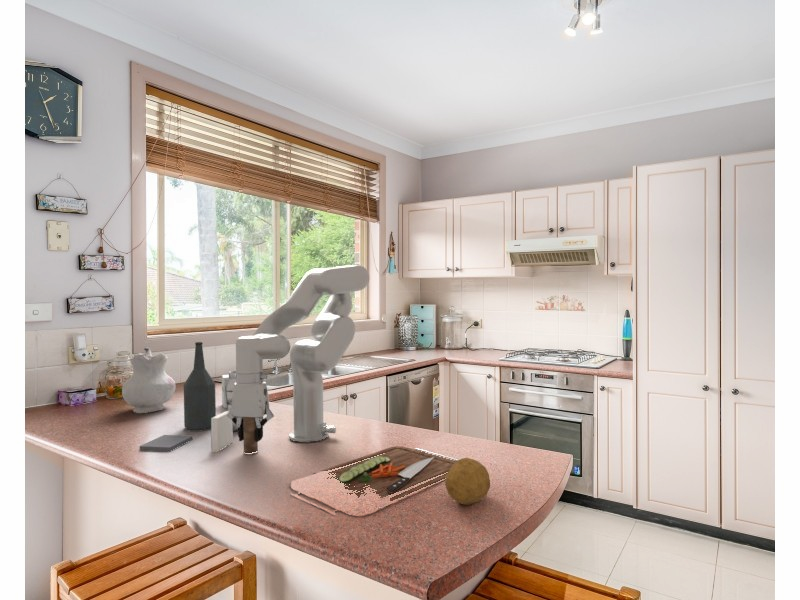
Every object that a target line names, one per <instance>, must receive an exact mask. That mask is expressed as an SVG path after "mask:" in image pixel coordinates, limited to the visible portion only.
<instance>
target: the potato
mask: <svg viewBox="0 0 800 600" xmlns="http://www.w3.org/2000/svg"><path fill="white" fill-rule="evenodd" d="M444 483H445V489H446V492H447V493H448V495H449V497H450V498H451V499H452V500H453V501H455V502H456V503H458V504H461V505H465V506H467V505H466V504H469V505H472V504H475V503H477V502H479V501H480V500H482V499H484V498H485V497H486V496H487V494H488V493H489V491H490V488H491V479H490V474H489V472H488V470H487V467H486V466H484V465H483V463H481V462H480V461H478V460H476V459H474V458H469V457H464V458H463V457H462V458H460V459H459V460H458V461H456V462H455V463H454V464H453V465H452V467H451V468H450V470H449V472H448V473H447V475H446V479H445V481H444ZM471 503H472V504H471Z"/></svg>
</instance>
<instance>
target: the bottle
mask: <svg viewBox="0 0 800 600" xmlns="http://www.w3.org/2000/svg"><path fill="white" fill-rule="evenodd" d="M194 344H195V345H194V346H195V351H194V359H193V369H192V371H191V372H190V374H189V375H188V378H186V380H185V382H184V383H183V413H184V414H183V415H184V416H183V418H184V421H183V423H184V424H183V425H184V428H185V429H186V430H187V431H188V430H190V431H189V432H200V431H201V430H202V431H208V430H211V418H213V417H215V416H217V412H216V411H217V410H216V409H217V407H216V405H217V404H216V402H217V401H216V382H215V380H214V379H213V377H212V376H211V375H210V373H209V372H208V371H207V369H206V365H205V364H206V363H205V358H204V349H203V342H202V341H197V342H196V341H195V343H194ZM207 429H208V430H207Z"/></svg>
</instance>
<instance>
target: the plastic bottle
mask: <svg viewBox="0 0 800 600" xmlns="http://www.w3.org/2000/svg"><path fill="white" fill-rule="evenodd" d="M228 375H229V381H228V382H227V384H226V385H225V394H226V403H227V408H226V411H230V409H231V408H232V394H233V388H234V384H235V383H236V370H235V371H234V370H232V371H229V372H228ZM232 428H233V432H235V431H237V432H238V428H237V427H236V424H235V423H234V422H233V421H232Z"/></svg>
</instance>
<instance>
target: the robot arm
mask: <svg viewBox="0 0 800 600" xmlns="http://www.w3.org/2000/svg"><path fill="white" fill-rule="evenodd" d="M369 282H370V273H369V271H368V270H367V268H366V267H364V266H362V265H360V264H359V265H358V264H354V265H342V266H341V265H340V266H335V267H325V268H323V267H322V268H313V269H310V270H309V271H307V272H306V273H305V274H304V276H303V277H302V279H301V280H300V281H299V283H298V284H297V286H296V287H295V289H293V291H292V293H291V295H290V296H289V297H288V298H287V300H286V301H285V302H284V303H283V304H281V305H280V306H279V307H277V308H276V309H275V310H274V311H273V312H272V313H270V314H269V315H268V316H267V317H266V318H265V319H264V320H262V322H261V323H260V325H259V326H258V328H256V330H255V332H254V333H253V335H245V336H240V337H238V338H236V340H235V371H236V383H235V384H234V388H233V394H232V408H231V409H230V411H229V412H228V414H227V417H228V418H230V419H231V420H232V421H233V422H234V423H235V424H236V427H237V428H238V430H237V437H238V442H242V441H243V418H244V417H251V418H255V421H256V425H257V428H255V441H256V442H258V443H259V442H260V441H261V440H262V439H263V437H264V426H265V425H266V424H267V422H269V421H270V420H271V419H273V418H274V416H275V415H274V413H273V412H272V410H271V409H270V398H269V391H268V387H267V386H268V385H267V382H266V381H264V380H267V379H268V374H264V360H281V359H283V358H285V357H286V356H287V355H288V354H289V360H290V361H289V362H290V366H291V371H292V382H293V384H292V385H293V387H292V389H293V394H292V395H293V396H292V397H293V431H291V432H290V433H289V434H288V439H289V438H290V439H291V441H292V440H294V441H293V442H295V441H300V442H299V443H311V442H310V441H316V442H319V441H318V440H320V441H323V440H326V439H327V438H328V437H329V434H336V433H337V427H336V426H335V425H328V424H327V420H326V421H325V420H324V378H323V375H322V373H328V372H330V371H332V370H333V369H335V367H336V366H337V365H338V364H339V362H340V361H341V359H342V357H343V356H344V355H345V353H346V351H347V350H348V348H349V347H350V346H351V344H352V342H353V340H354V337H355V334H356V325H355V322H354V321H353V319H352V317H350V313H351V312H352V309H353V301H352V296H351V293H353V292H359V291H363V290H364V289H366V287H367V286H368V285H369ZM324 295H329V298H328V301H327V302H326V304H325V305H324V307H323V308H322V309H321V311H320V313H319V314H318V315H317V317H316V318H315V320H314V321H313V323H312V325H311V329H310V332H311V335H312V337H313V338H314V339H315V340H314V339H301V340H298V341H296V342H295V343H294V344H293V345H292V347H291V342H290V340H289V339H288V338H287V337H286V336H284V335H281V334H282V333H283V332H284V331H285V330H287V329H288V328H289V327H291V326H294V325H296V324H298V323H301V322H303V321H304V320H306V319H308V318H309V317H310V315H311V314H312V312H313V311H314V309H315V307H317V305H318V303H319V302H320V300H321V299H322V297H323V296H324ZM265 415H266V417H264V416H265ZM326 437H327V438H326ZM325 438H326V439H325ZM290 439H289V440H290ZM322 439H323V440H322Z"/></svg>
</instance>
